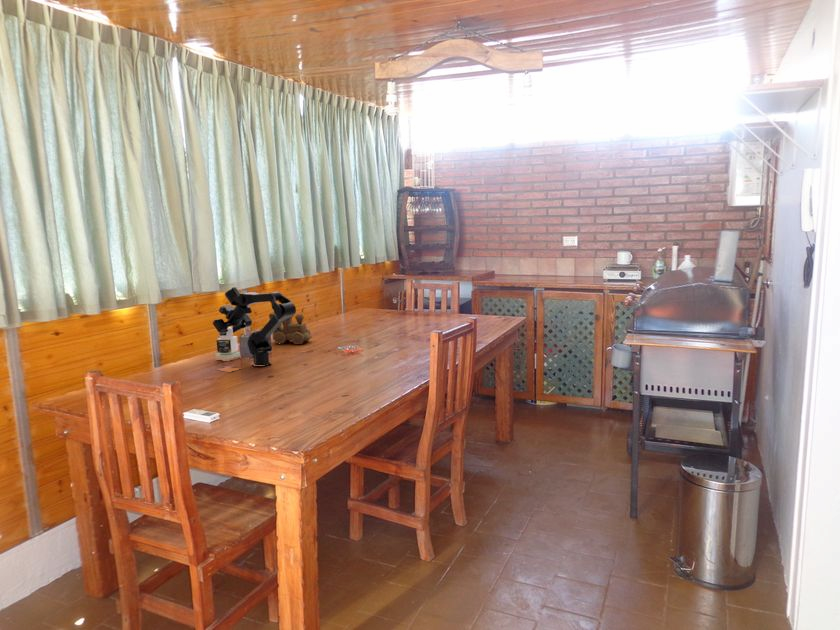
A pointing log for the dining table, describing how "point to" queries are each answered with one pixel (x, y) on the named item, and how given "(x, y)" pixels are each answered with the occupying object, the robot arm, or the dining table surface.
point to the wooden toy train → (291, 330)
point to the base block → (228, 355)
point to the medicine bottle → (227, 343)
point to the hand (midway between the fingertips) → (225, 334)
